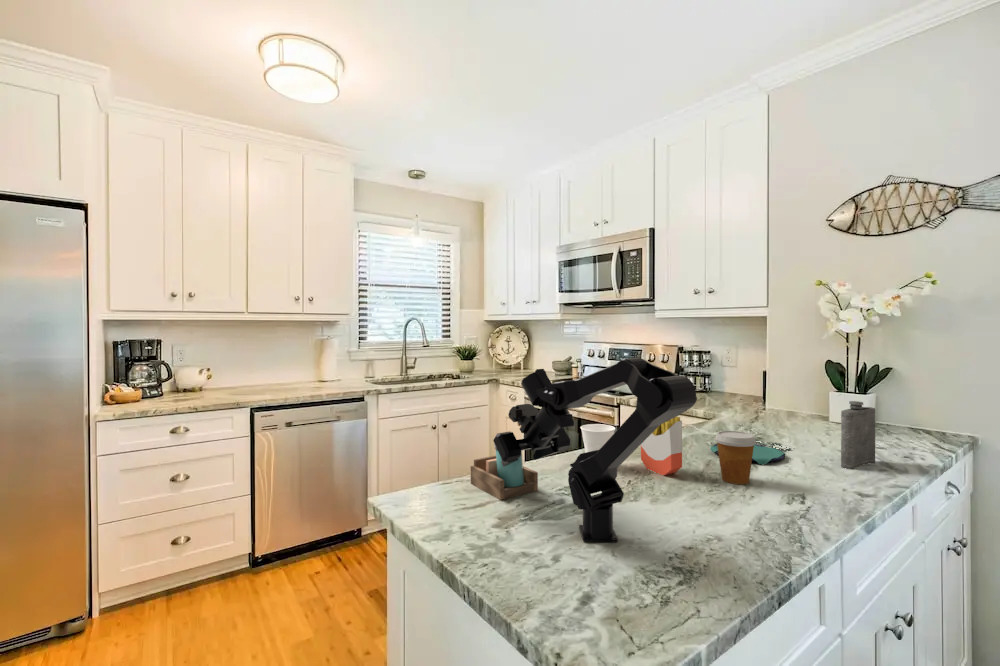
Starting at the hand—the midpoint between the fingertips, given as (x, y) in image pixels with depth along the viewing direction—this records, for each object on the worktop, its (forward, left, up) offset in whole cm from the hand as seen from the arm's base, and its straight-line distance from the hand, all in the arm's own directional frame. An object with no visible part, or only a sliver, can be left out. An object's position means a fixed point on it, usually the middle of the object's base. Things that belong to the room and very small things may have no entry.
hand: (518, 461), depth 113 cm
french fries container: (+18, -39, -8) cm, 44 cm away
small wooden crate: (+6, +4, -8) cm, 11 cm away
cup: (+24, -23, -8) cm, 34 cm away
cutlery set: (+37, -74, -9) cm, 84 cm away
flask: (+25, -97, -8) cm, 100 cm away
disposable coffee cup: (+11, -56, -8) cm, 58 cm away
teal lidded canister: (+3, +2, -6) cm, 7 cm away
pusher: (+6, +5, -7) cm, 10 cm away
